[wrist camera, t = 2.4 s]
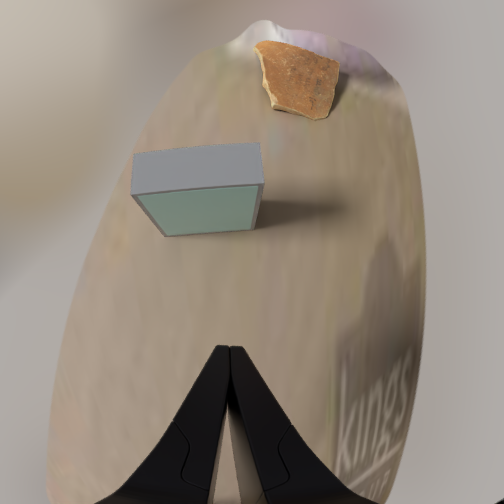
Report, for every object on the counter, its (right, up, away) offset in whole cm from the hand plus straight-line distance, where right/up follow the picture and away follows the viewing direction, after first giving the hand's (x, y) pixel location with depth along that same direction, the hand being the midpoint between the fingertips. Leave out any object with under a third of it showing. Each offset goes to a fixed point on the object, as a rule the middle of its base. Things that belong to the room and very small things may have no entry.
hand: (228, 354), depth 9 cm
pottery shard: (+4, +21, +19) cm, 28 cm away
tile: (-3, +6, +14) cm, 16 cm away
